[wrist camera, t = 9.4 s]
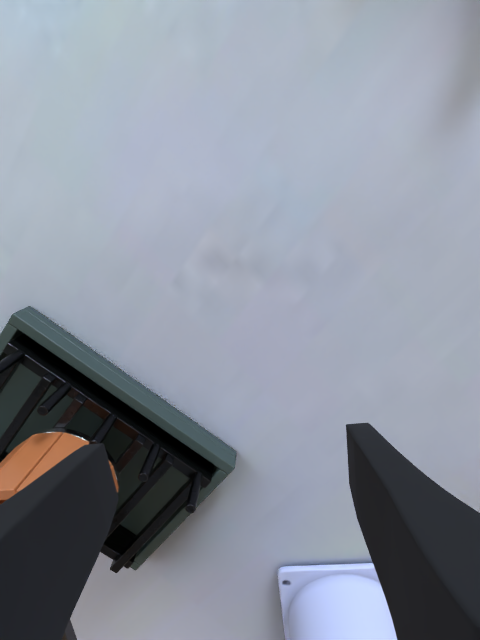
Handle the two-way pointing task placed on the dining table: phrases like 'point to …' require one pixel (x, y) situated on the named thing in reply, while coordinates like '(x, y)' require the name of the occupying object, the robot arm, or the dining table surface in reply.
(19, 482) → the saucepan
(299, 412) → the dining table surface
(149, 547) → the dish rack
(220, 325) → the dining table surface
